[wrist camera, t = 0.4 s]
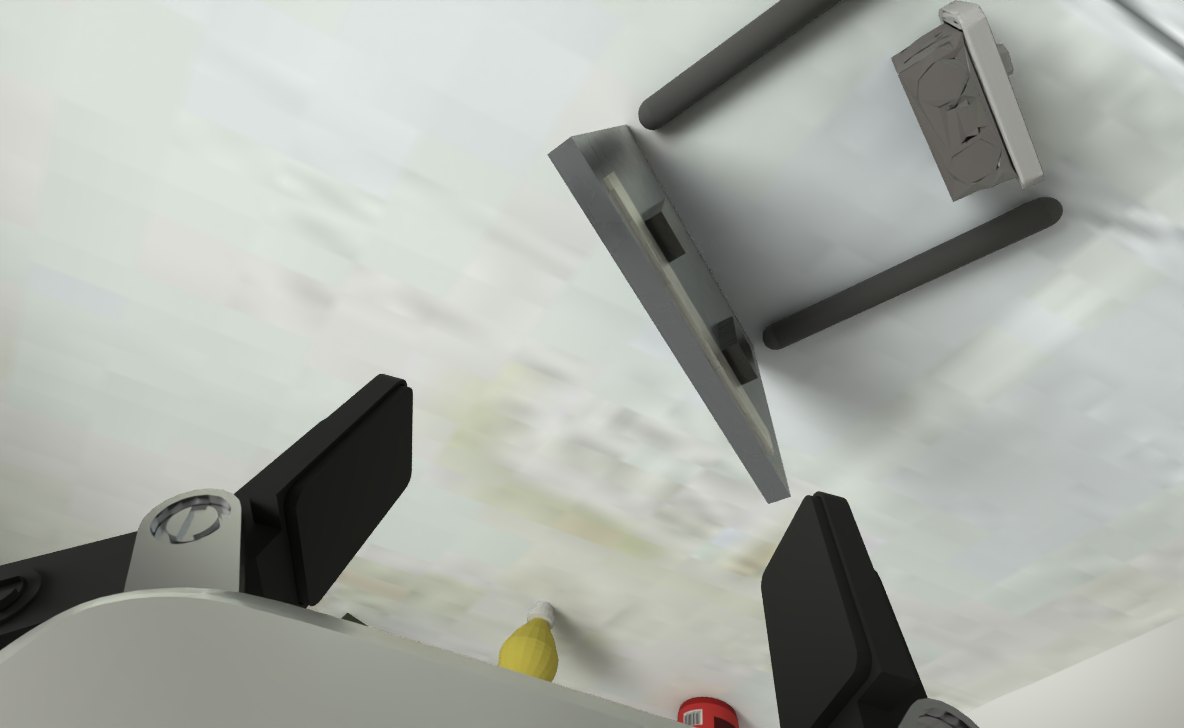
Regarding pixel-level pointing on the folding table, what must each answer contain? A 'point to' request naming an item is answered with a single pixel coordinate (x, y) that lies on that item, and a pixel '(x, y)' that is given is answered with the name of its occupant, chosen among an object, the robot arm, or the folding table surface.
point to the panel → (675, 291)
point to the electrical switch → (968, 103)
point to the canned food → (707, 713)
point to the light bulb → (532, 645)
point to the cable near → (729, 59)
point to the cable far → (916, 271)
